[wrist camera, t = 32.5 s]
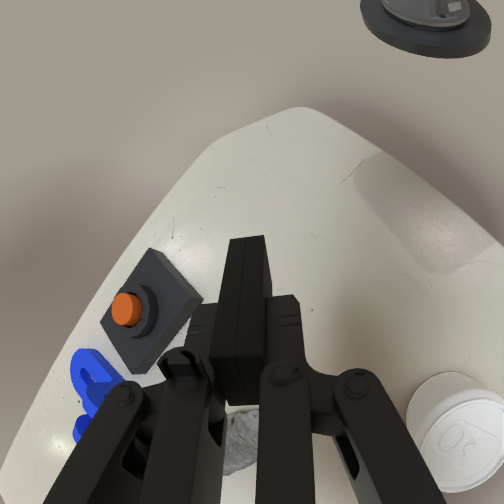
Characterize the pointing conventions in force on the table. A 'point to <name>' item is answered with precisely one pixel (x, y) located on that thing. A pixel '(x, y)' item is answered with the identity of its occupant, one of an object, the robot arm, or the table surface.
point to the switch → (126, 309)
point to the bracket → (91, 384)
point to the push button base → (152, 311)
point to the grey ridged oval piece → (241, 441)
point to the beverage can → (457, 430)
